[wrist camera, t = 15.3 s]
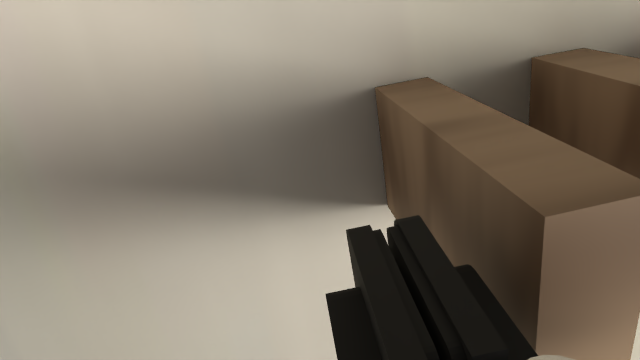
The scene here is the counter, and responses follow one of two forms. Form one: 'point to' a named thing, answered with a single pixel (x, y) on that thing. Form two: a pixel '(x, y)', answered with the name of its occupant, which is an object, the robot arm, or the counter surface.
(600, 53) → the domino
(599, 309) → the domino
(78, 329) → the counter surface
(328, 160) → the counter surface
